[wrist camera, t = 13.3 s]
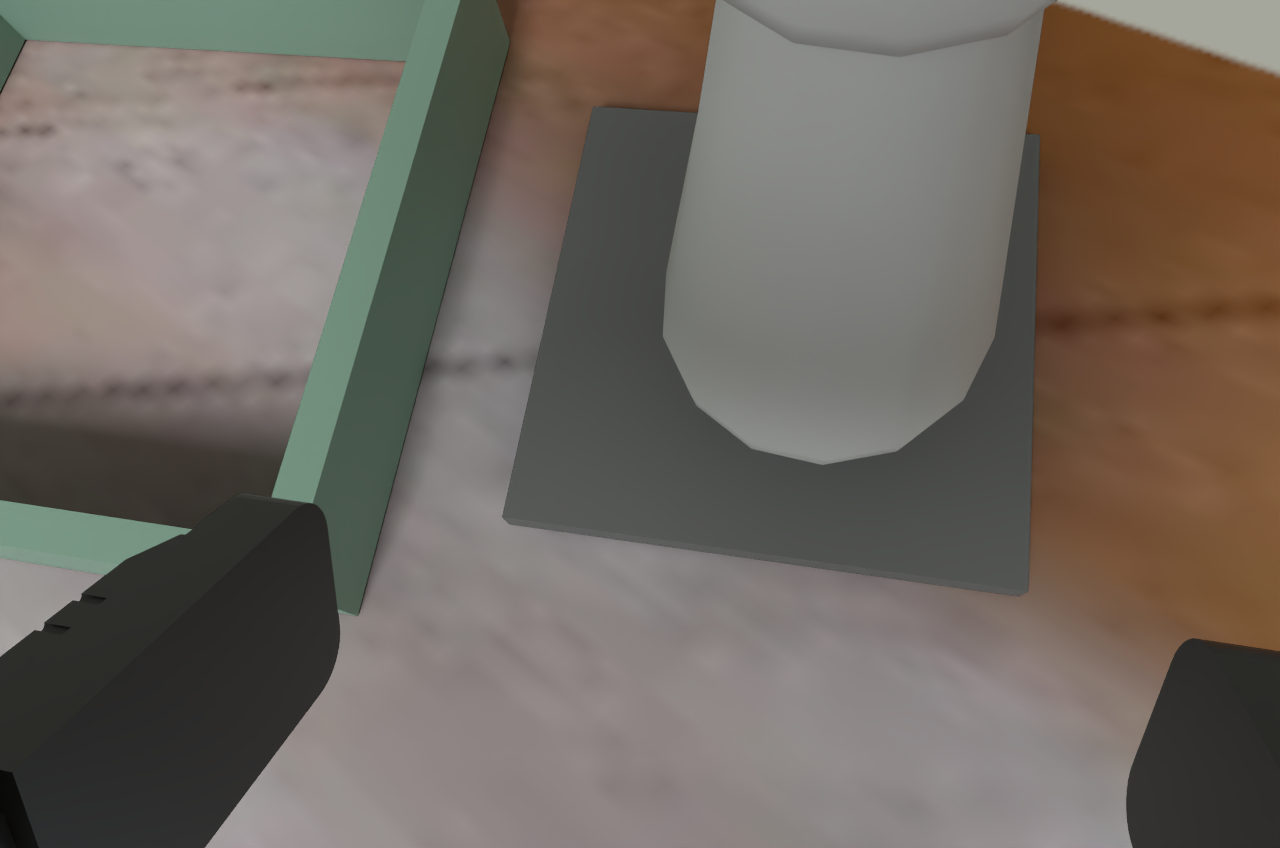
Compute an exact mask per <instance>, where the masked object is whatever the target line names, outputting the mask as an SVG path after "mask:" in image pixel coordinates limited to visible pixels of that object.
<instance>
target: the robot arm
mask: <svg viewBox="0 0 1280 848" xmlns="http://www.w3.org/2000/svg"><path fill="white" fill-rule="evenodd" d="M44 624H45V625H44V628H43V630H42V631H36V630H34V631H33V632H32V633H30V634H29V635H28V636H26V637H25V638H24V639H23V640H21V641H20V642H19V643H17V644H16V645H15V646H14V647H12V648H11V649H10V650H8V651H7V652H6V653H5V654H3V655H2V656H1V657H0V848H205V847H206V845H207V844H208V843H209V841H210V840H211V839H212V837H213V836H214V835H215V833H216V832H217V831H218V829H219V828H220V827H221V825H222V824H223V823H224V821H225V820H226V819H227V817H228V816H229V815H230V813H231V812H232V811H233V809H234V808H235V807H236V805H237V804H238V803H239V801H240V800H241V799H242V797H243V796H244V795H245V793H246V792H247V791H248V789H249V788H250V787H251V785H252V784H253V783H254V781H255V780H256V779H257V777H258V776H259V775H260V773H261V772H262V771H263V769H264V768H265V767H266V765H267V764H268V763H269V761H270V760H271V759H272V757H273V756H274V755H275V753H276V752H277V751H278V749H279V748H280V747H281V745H282V744H283V743H284V741H285V740H286V739H287V738H288V736H289V735H290V734H291V732H292V731H293V730H294V728H295V727H296V726H297V724H298V723H299V722H300V720H301V719H302V718H303V716H304V715H305V714H306V712H307V711H308V710H309V708H310V707H311V706H312V704H313V703H314V702H315V700H316V699H317V698H318V696H319V695H320V694H321V692H322V691H323V689H324V688H325V686H326V684H327V682H328V680H329V678H330V676H331V674H332V671H333V668H334V665H335V662H336V658H337V654H338V649H339V642H340V624H339V616H338V608H337V599H336V591H335V583H334V575H333V567H332V558H331V550H330V542H329V534H328V526H327V521H326V518H325V515H324V513H323V511H322V510H321V509H320V508H319V506H317V505H315V504H312V503H306V502H300V501H293V500H286V499H280V498H273V497H267V496H260V495H253V494H247V493H243V494H238V495H236V496H233V497H232V498H230V499H229V500H228V501H226V502H225V503H224V504H223V505H221V506H220V507H219V508H218V509H216V510H215V511H214V512H213V513H212V514H210V515H209V516H208V517H207V518H205V519H204V520H203V521H202V522H200V523H199V524H198V525H197V526H196V527H194V528H193V529H192V530H191V531H189V532H188V533H187V534H186V535H184V534H180V535H178V536H175V537H173V538H171V539H169V540H167V541H165V542H162V543H160V544H158V545H156V546H154V547H152V548H149V549H147V550H145V551H143V552H141V553H139V554H136V555H134V556H132V557H130V558H128V559H126V560H124V561H123V562H122V563H120V564H119V565H118V566H116V567H115V568H114V569H113V570H111V571H110V572H109V573H107V574H106V575H105V576H104V577H102V578H101V579H100V580H98V581H97V582H96V583H95V584H93V585H92V586H91V587H89V588H88V589H87V590H86V591H84V592H83V593H82V597H81V600H80V601H79V602H78V601H71V602H70V603H69V604H68V605H66V606H65V607H64V608H62V609H61V610H60V611H59V612H57V613H56V614H55V615H53V616H52V617H51V618H50V619H48V620H47V621H46V622H44ZM1126 811H1127V823H1128V830H1129V835H1130V840H1131V843H1132V846H1133V848H1280V651H1274V650H1268V649H1261V648H1254V647H1248V646H1241V645H1235V644H1228V643H1221V642H1215V641H1208V640H1201V639H1194V638H1193V639H1189V640H1187V641H1185V642H1184V643H1183V644H1182V645H1181V646H1180V647H1179V648H1178V650H1177V652H1176V653H1175V655H1174V657H1173V660H1172V662H1171V665H1170V667H1169V670H1168V672H1167V675H1166V678H1165V680H1164V683H1163V686H1162V688H1161V691H1160V693H1159V696H1158V699H1157V701H1156V704H1155V707H1154V709H1153V712H1152V714H1151V717H1150V720H1149V722H1148V725H1147V728H1146V730H1145V733H1144V735H1143V738H1142V741H1141V743H1140V746H1139V749H1138V751H1137V754H1136V756H1135V759H1134V762H1133V764H1132V767H1131V771H1130V775H1129V779H1128V786H1127V797H1126Z"/></svg>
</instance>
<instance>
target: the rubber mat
mask: <svg viewBox="0 0 1280 848" xmlns="http://www.w3.org/2000/svg"><path fill="white" fill-rule="evenodd" d="M697 115H698V113H690V112H674V111H658V110H642V109H627V108H611V107H595V106H593V109H592V113H591V118H590V123H589V127H588V132H587V136H586V141H585V145H584V150H583V154H582V159H581V163H580V168H579V172H578V177H577V181H576V186H575V190H574V195H573V199H572V204H571V208H570V213H569V217H568V222H567V226H566V231H565V235H564V240H563V244H562V249H561V254H560V258H559V263H558V267H557V272H556V276H555V281H554V285H553V290H552V294H551V299H550V303H549V308H548V312H547V317H546V321H545V326H544V330H543V335H542V339H541V344H540V348H539V353H538V357H537V362H536V366H535V371H534V375H533V380H532V384H531V389H530V394H529V398H528V403H527V407H526V412H525V416H524V421H523V425H522V430H521V434H520V439H519V443H518V448H517V452H516V457H515V461H514V466H513V470H512V475H511V479H510V484H509V488H508V493H507V497H506V502H505V506H504V511H503V515H502V517H503V518H504V519H505V520H506V521H507V522H508V523H509V524H512V525H519V526H526V527H533V528H540V529H547V530H554V531H561V532H568V533H575V534H582V535H589V536H596V537H603V538H610V539H617V540H625V541H632V542H639V543H646V544H653V545H660V546H667V547H674V548H681V549H688V550H695V551H702V552H709V553H716V554H723V555H730V556H737V557H744V558H751V559H758V560H765V561H773V562H780V563H787V564H794V565H801V566H808V567H815V568H822V569H829V570H836V571H843V572H850V573H857V574H864V575H871V576H878V577H885V578H892V579H899V580H906V581H914V582H921V583H928V584H935V585H942V586H949V587H956V588H963V589H970V590H977V591H984V592H991V593H998V594H1005V595H1012V596H1021V595H1022V594H1024V593H1026V592H1028V584H1029V545H1030V506H1031V467H1032V428H1033V389H1034V350H1035V311H1036V272H1037V233H1038V194H1039V155H1040V135H1036V134H1025V140H1024V147H1023V153H1022V160H1021V166H1020V173H1019V180H1018V186H1017V193H1016V199H1015V206H1014V213H1013V219H1012V226H1011V232H1010V239H1009V246H1008V252H1007V259H1006V265H1005V272H1004V278H1003V285H1002V292H1001V298H1000V305H999V311H998V318H997V325H996V331H995V337H994V339H993V341H992V343H991V345H990V347H989V349H988V351H987V353H986V355H985V357H984V359H983V361H982V363H981V365H980V367H979V369H978V372H977V374H976V376H975V378H974V380H973V382H972V384H971V386H970V388H969V390H968V392H967V394H966V396H965V398H964V400H963V401H962V402H960V403H959V404H958V405H956V406H955V407H954V408H952V409H951V410H950V411H949V412H947V413H946V414H945V415H943V416H942V417H941V418H940V419H938V420H937V421H936V422H934V423H933V424H932V425H930V426H929V427H928V428H927V429H925V430H924V431H923V432H921V433H920V434H919V435H917V436H916V437H915V438H914V439H912V440H911V441H910V442H908V443H907V444H906V445H904V446H903V447H902V448H900V449H899V450H898V451H896V452H891V453H886V454H880V455H875V456H869V457H864V458H858V459H853V460H847V461H842V462H836V463H831V464H825V465H820V464H816V463H811V462H807V461H803V460H798V459H794V458H789V457H785V456H781V455H776V454H772V453H767V452H763V451H759V450H754V449H751V448H750V447H749V446H747V445H746V444H745V443H743V442H742V441H741V440H740V439H738V438H737V437H736V436H734V435H733V434H732V433H731V432H729V431H728V430H727V429H726V428H724V427H723V426H722V425H720V424H719V423H718V422H717V421H715V420H714V419H713V418H711V417H710V416H709V415H708V414H706V413H705V412H704V411H703V410H701V409H700V408H699V407H697V406H696V404H695V402H694V400H693V398H692V396H691V394H690V392H689V390H688V388H687V386H686V384H685V382H684V380H683V378H682V375H681V373H680V371H679V369H678V367H677V365H676V363H675V361H674V359H673V357H672V355H671V352H670V350H669V348H668V346H667V344H666V342H665V340H664V338H663V322H664V304H665V286H666V271H667V266H668V261H669V256H670V251H671V246H672V241H673V236H674V231H675V226H676V221H677V216H678V211H679V206H680V201H681V196H682V191H683V186H684V181H685V176H686V170H687V165H688V160H689V155H690V150H691V145H692V140H693V135H694V130H695V125H696V120H697Z"/></svg>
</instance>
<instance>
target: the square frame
mask: <svg viewBox="0 0 1280 848" xmlns="http://www.w3.org/2000/svg"><path fill="white" fill-rule="evenodd" d="M25 40H42V41H59V42H77V43H94V44H112V45H129V46H146V47H164V48H181V49H199V50H216V51H234V52H251V53H269V54H286V55H304V56H321V57H339V58H356V59H374V60H391V61H406V63H405V66H404V70H403V73H402V76H401V79H400V83H399V86H398V89H397V92H396V96H395V99H394V102H393V105H392V108H391V112H390V115H389V118H388V121H387V125H386V128H385V131H384V134H383V138H382V141H381V144H380V147H379V150H378V154H377V157H376V160H375V163H374V167H373V170H372V173H371V176H370V180H369V183H368V186H367V189H366V193H365V196H364V199H363V202H362V205H361V209H360V212H359V215H358V218H357V222H356V225H355V228H354V231H353V235H352V238H351V241H350V244H349V247H348V251H347V254H346V257H345V260H344V264H343V267H342V270H341V273H340V277H339V280H338V283H337V286H336V290H335V293H334V296H333V299H332V302H331V306H330V309H329V312H328V315H327V319H326V322H325V325H324V328H323V332H322V335H321V338H320V341H319V344H318V348H317V351H316V354H315V357H314V361H313V364H312V367H311V370H310V374H309V377H308V380H307V383H306V387H305V390H304V393H303V396H302V399H301V403H300V406H299V409H298V412H297V416H296V419H295V422H294V425H293V429H292V432H291V435H290V438H289V441H288V445H287V448H286V451H285V454H284V458H283V461H282V464H281V467H280V471H279V474H278V477H277V480H276V484H275V487H274V490H273V493H272V496H271V497H273V498H280V499H286V500H293V501H300V502H306V503H312V504H315V505H317V506H319V508H320V509H321V510H322V511H323V513H324V515H325V518H326V521H327V526H328V534H329V542H330V550H331V558H332V567H333V575H334V583H335V591H336V599H337V608H338V613H341V614H347V615H353V616H358V613H359V609H360V606H361V602H362V598H363V594H364V591H365V587H366V583H367V579H368V575H369V572H370V568H371V564H372V560H373V557H374V553H375V549H376V545H377V542H378V538H379V534H380V530H381V526H382V523H383V519H384V515H385V511H386V508H387V504H388V500H389V496H390V493H391V489H392V485H393V481H394V477H395V474H396V470H397V466H398V462H399V459H400V455H401V451H402V447H403V444H404V440H405V436H406V432H407V428H408V425H409V421H410V417H411V413H412V410H413V406H414V402H415V398H416V395H417V391H418V387H419V383H420V379H421V376H422V372H423V368H424V364H425V361H426V357H427V353H428V349H429V345H430V342H431V338H432V334H433V330H434V327H435V323H436V319H437V315H438V312H439V308H440V304H441V300H442V296H443V293H444V289H445V285H446V281H447V278H448V274H449V270H450V266H451V263H452V259H453V255H454V251H455V247H456V244H457V240H458V236H459V232H460V229H461V225H462V221H463V217H464V214H465V210H466V206H467V202H468V198H469V195H470V191H471V187H472V183H473V180H474V176H475V172H476V168H477V164H478V161H479V157H480V153H481V149H482V146H483V142H484V138H485V134H486V131H487V127H488V123H489V119H490V115H491V112H492V108H493V104H494V100H495V97H496V93H497V89H498V85H499V82H500V78H501V74H502V70H503V66H504V63H505V59H506V55H507V51H508V48H509V44H510V40H509V37H508V34H507V31H506V28H505V25H504V22H503V19H502V16H501V13H500V10H499V7H498V4H497V1H496V0H0V91H1V89H2V87H3V85H4V83H5V81H6V79H7V77H8V75H9V72H10V70H11V68H12V66H13V64H14V62H15V60H16V58H17V56H18V54H19V52H20V50H21V48H22V46H23V44H24V41H25ZM191 530H192V529H187V528H180V527H174V526H167V525H160V524H154V523H147V522H141V521H134V520H127V519H121V518H114V517H108V516H101V515H94V514H88V513H81V512H75V511H68V510H61V509H55V508H48V507H42V506H35V505H29V504H22V503H15V502H9V501H2V500H0V558H5V559H11V560H17V561H23V562H29V563H35V564H41V565H47V566H53V567H60V568H66V569H72V570H78V571H84V572H90V573H96V574H102V575H106V574H107V573H109V572H110V571H111V570H113V569H114V568H115V567H116V566H118V565H119V564H120V563H122V562H123V561H124V560H126V559H128V558H130V557H132V556H134V555H136V554H139V553H141V552H143V551H145V550H147V549H149V548H152V547H154V546H156V545H158V544H160V543H162V542H165V541H167V540H169V539H171V538H173V537H175V536H178V535H180V534H184V535H186V534H187V533H188V532H189V531H191Z"/></svg>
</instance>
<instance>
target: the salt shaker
mask: <svg viewBox="0 0 1280 848" xmlns="http://www.w3.org/2000/svg"><path fill="white" fill-rule="evenodd" d="M1055 1H1057V0H716V3H715V9H714V16H713V22H712V28H711V35H710V41H709V47H708V54H707V60H706V66H705V73H704V79H703V85H702V91H701V98H700V104H699V110H698V115H697V120H696V125H695V130H694V135H693V140H692V145H691V150H690V155H689V160H688V165H687V170H686V176H685V181H684V186H683V191H682V196H681V201H680V206H679V211H678V216H677V221H676V226H675V231H674V236H673V241H672V246H671V251H670V256H669V261H668V266H667V271H666V286H665V304H664V322H663V338H664V340H665V342H666V344H667V346H668V348H669V350H670V352H671V355H672V357H673V359H674V361H675V363H676V365H677V367H678V369H679V371H680V373H681V375H682V378H683V380H684V382H685V384H686V386H687V388H688V390H689V392H690V394H691V396H692V398H693V400H694V402H695V404H696V406H697V407H699V408H700V409H701V410H703V411H704V412H705V413H706V414H708V415H709V416H710V417H711V418H713V419H714V420H715V421H717V422H718V423H719V424H720V425H722V426H723V427H724V428H726V429H727V430H728V431H729V432H731V433H732V434H733V435H734V436H736V437H737V438H738V439H740V440H741V441H742V442H743V443H745V444H746V445H747V446H749V447H750V448H751V449H754V450H759V451H763V452H767V453H772V454H776V455H781V456H785V457H789V458H794V459H798V460H803V461H807V462H811V463H816V464H820V465H825V464H831V463H836V462H842V461H847V460H853V459H858V458H864V457H869V456H875V455H880V454H886V453H891V452H896V451H898V450H899V449H900V448H902V447H903V446H904V445H906V444H907V443H908V442H910V441H911V440H912V439H914V438H915V437H916V436H917V435H919V434H920V433H921V432H923V431H924V430H925V429H927V428H928V427H929V426H930V425H932V424H933V423H934V422H936V421H937V420H938V419H940V418H941V417H942V416H943V415H945V414H946V413H947V412H949V411H950V410H951V409H952V408H954V407H955V406H956V405H958V404H959V403H960V402H962V401H963V400H964V398H965V396H966V394H967V392H968V390H969V388H970V386H971V384H972V382H973V380H974V378H975V376H976V374H977V372H978V369H979V367H980V365H981V363H982V361H983V359H984V357H985V355H986V353H987V351H988V349H989V347H990V345H991V343H992V341H993V339H994V337H995V331H996V325H997V318H998V311H999V305H1000V298H1001V292H1002V285H1003V278H1004V272H1005V265H1006V259H1007V252H1008V246H1009V239H1010V232H1011V226H1012V219H1013V213H1014V206H1015V199H1016V193H1017V186H1018V180H1019V173H1020V166H1021V160H1022V153H1023V147H1024V140H1025V133H1026V127H1027V120H1028V114H1029V107H1030V100H1031V94H1032V87H1033V81H1034V74H1035V67H1036V61H1037V54H1038V48H1039V41H1040V34H1041V28H1042V21H1043V15H1044V9H1045V8H1047V7H1048V6H1050V5H1051V4H1052V3H1054V2H1055Z"/></svg>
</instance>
